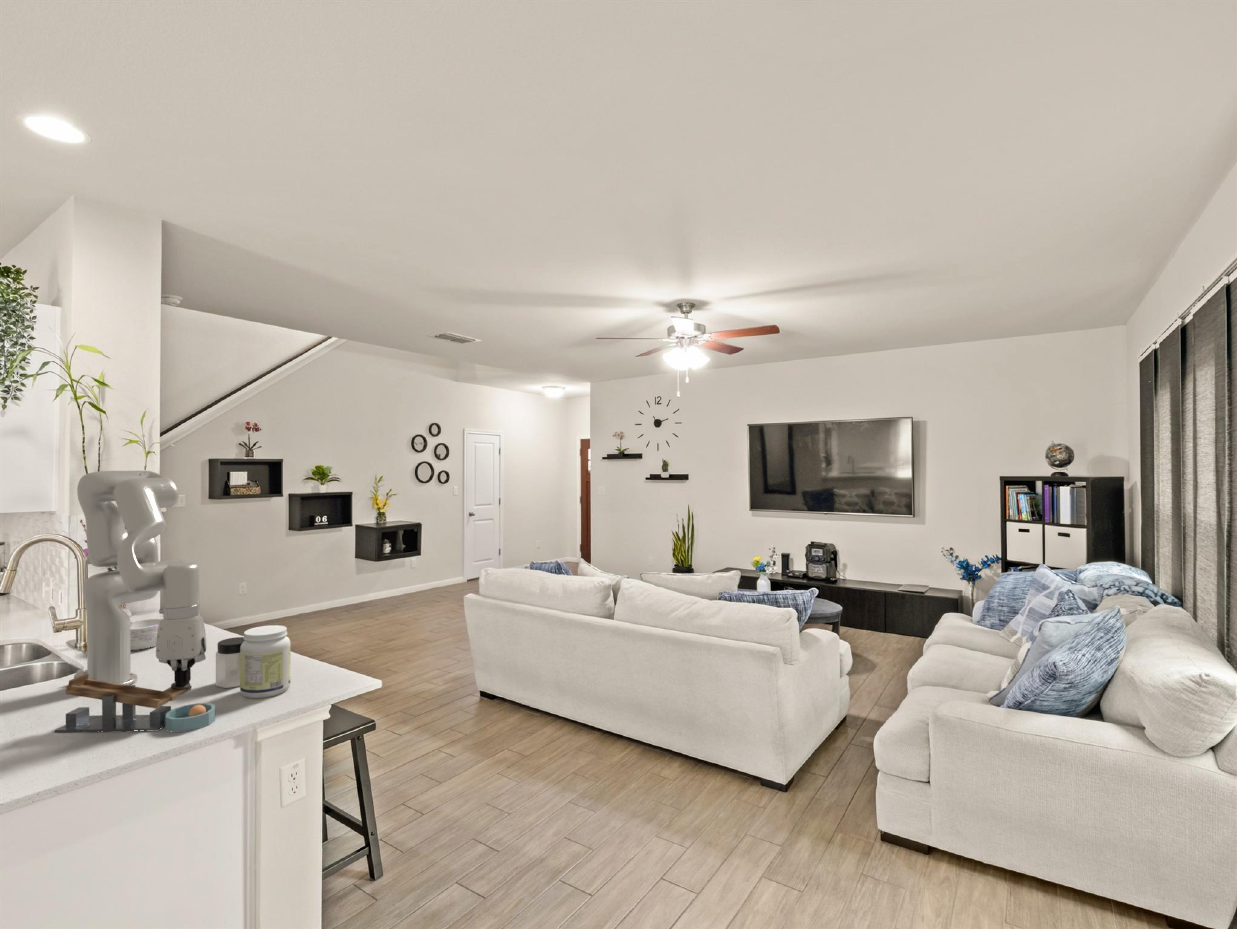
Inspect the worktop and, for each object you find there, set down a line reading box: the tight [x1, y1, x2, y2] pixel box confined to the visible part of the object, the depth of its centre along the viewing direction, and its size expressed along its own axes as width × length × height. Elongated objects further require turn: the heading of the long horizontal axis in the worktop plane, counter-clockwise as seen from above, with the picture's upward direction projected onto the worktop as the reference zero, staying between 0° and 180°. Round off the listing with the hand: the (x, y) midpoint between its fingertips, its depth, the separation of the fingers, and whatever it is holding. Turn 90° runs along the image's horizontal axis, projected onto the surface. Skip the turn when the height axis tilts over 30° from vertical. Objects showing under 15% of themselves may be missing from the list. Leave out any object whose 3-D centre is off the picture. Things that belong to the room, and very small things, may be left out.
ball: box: [189, 705, 206, 717], centre depth 155 cm, size 4×4×4 cm
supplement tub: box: [239, 624, 292, 699], centre depth 176 cm, size 12×12×17 cm
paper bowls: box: [130, 618, 162, 651], centre depth 217 cm, size 15×15×8 cm
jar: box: [215, 636, 245, 689], centre depth 182 cm, size 9×8×12 cm
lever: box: [65, 674, 192, 710], centre depth 158 cm, size 22×13×3 cm, turn 93°
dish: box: [165, 702, 216, 733], centre depth 155 cm, size 10×10×3 cm
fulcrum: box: [54, 684, 172, 734], centre depth 154 cm, size 23×8×8 cm, turn 93°
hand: (182, 684), depth 163 cm, fingers closed
